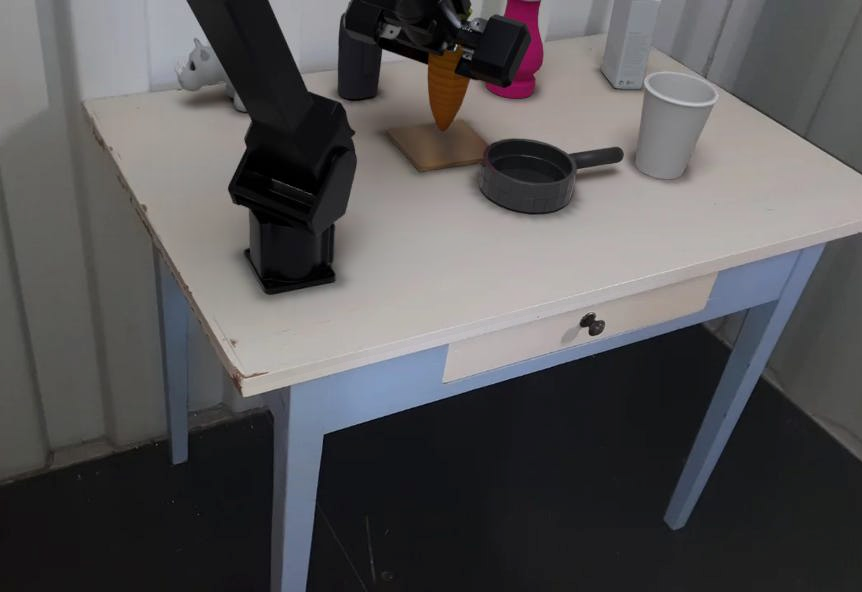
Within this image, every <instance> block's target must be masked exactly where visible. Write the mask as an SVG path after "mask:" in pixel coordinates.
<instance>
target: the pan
mask: <svg viewBox="0 0 862 592" xmlns="http://www.w3.org/2000/svg"><path fill="white" fill-rule="evenodd" d="M488 145H489V146H487V147H486V149H485V150H484V152H483V157H482V163H480V169H479V170H480V172H479V177H478V186H479V188H480V190H481V191H482V193H483V194H484V195H485V196H486V197H487V198H488V199H490V200H492V201H493V202H495V203H496V204H497V205H500V206H502V207H505V208H506V209H509V210H513V211H517V212H521V213H530V214H542V213H549V212H554V211H558V210H559V209H562V208H564V207H565V206H566V205H567V204H569V202H570V200H571V198H572V195H573V190H574V187H575V181H576V177H577V172H578V169H577V166H576V163H575V161H574V160H573V158H572V157H571V156H570V155H568V154H569V153H568V152H566V151H565V150H563V149H561V148H559V147H557V146H555V145H552V144H550V143H548V142H544V141H540V140H536V139H530V138H520V137H519V138H517V137H515V138H504V139H499V140H497V141H494V142H492V143H490V144H488Z"/></svg>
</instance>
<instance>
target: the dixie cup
mask: <svg viewBox="0 0 862 592" xmlns="http://www.w3.org/2000/svg"><path fill="white" fill-rule="evenodd" d="M643 86H644V90H643V91H644V92H643V98H642V101H643V102H642V107H641V116H640V122H639V129H638V130H639V131H638V137H637V138H638V139H637V147H636V154H635V163H634V165H635V167H636V168H637V169H638V171H640V172H641V173H642V174H645V175H647V176H649V177H651V178H655V179H660V180H675V179H678V178H680V177H682V176H683V174H684V172H685V170H686V167H687V165H688V163H689V161H690V159H691V157H692V155H693V153H694V150H695V148H696V145H697V143H698V141H699V139H700V137H701V135H702V132H703V130H704V128H705V125H706V123H707V122H708V119H709V116H710V114H711V112H712V110H713V108H714V106H715V104H716V103H717V102H719V99H720V95H719V91H717V89H716V88H715V87H714V86H713V85H712V84H711V83H709V82H708V81H706V80H704V79H702V78H700V77H697V76H694V75H691V74H688V73H683V72H679V71H667V70H666V71H656V72H653V73H650V74H648V75H647V76H646V77H644V80H643Z"/></svg>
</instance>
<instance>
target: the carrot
mask: <svg viewBox="0 0 862 592" xmlns="http://www.w3.org/2000/svg"><path fill="white" fill-rule="evenodd" d="M473 12H474V10H473V9H472V8H471V7H470V9H469V11H468V13H467V15H464V14H462V15H461V19H464V20H467V21H469V18H470V17H471V16H472V15H473ZM460 48H461V45H458V49H457V51H456V52H455V53H451V52H448V51H445V52H444V54H443V56H442V57H441V56H438V55H435V54H431V53H429V59H428V65H427V92H428V93H427V94H428V101H429V107H430V111H431V114H432V117H433V120H434V123H436V125H437V127H438V128H439V129H440V130H441V131H442V132H443V131H445V130H447V129H448V127H449V126H450V124H451V123H452V122H453V121H455V119H456V116H457V114H458V113H459V111H460V109H461V107H462V105H463V102H464V99H465V97H466V93H467V91H468V87H469V85H470V81H471V79H469V78H466V77H463V76H461V75H458V74H455V73H454V72H455V69H456V67H457V65H458V63H459V61H460V59H461V56H462V54H463V52H462V51H461V49H460Z"/></svg>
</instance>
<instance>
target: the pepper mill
mask: <svg viewBox="0 0 862 592" xmlns="http://www.w3.org/2000/svg"><path fill="white" fill-rule="evenodd" d="M541 3H542V0H506V5H505V9H504V13H503V16H504V17H507V18H510V19H513V20H517V21H520V22H523V23H526V24H527V26H528V29H529V31H530V34H531V38H532V41H531V43H530V45H529V48H528V50H527V52H526V54H525V56H524V59H523V61H522V63H521V65H520V67H519V70H518V72H517V74H516V76H515V78H514V81H513V83H512V85H511V86H508V87H506V88H501V87H498V86H495V85H492V84H489V83H486V82H485V86H486V88H487V89H488V91H490V92H491V93H493V94H495V95H497V96H500V97H503V98H508V99H525V98H528V97H530V96H532V95H533V93H534V92H535V87H536V79H537V78H536V77H535V74H536V73H537V72H539V70H540V69H541V67H542V66H543V62H544V44H543V41H542V36H541V32H540V28H539V16H540V15H539V14H540V7H541Z"/></svg>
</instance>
